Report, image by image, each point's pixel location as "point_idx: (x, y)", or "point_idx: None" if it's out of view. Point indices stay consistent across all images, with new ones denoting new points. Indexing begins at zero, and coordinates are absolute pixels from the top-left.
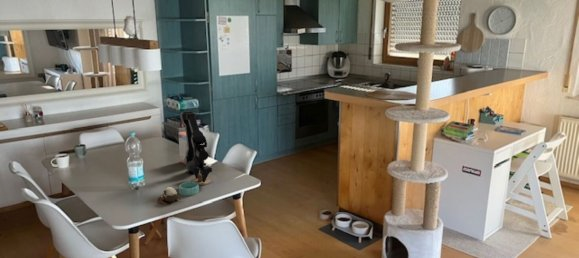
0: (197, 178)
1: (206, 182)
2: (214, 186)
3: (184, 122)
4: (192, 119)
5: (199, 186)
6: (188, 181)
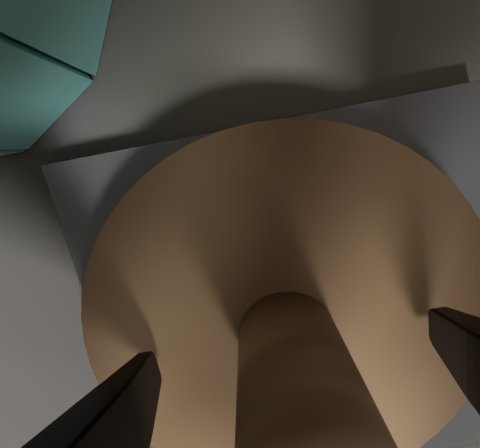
0: None
1: None
2: (22, 429)
3: None
4: None
5: (77, 232)
6: (464, 129)
